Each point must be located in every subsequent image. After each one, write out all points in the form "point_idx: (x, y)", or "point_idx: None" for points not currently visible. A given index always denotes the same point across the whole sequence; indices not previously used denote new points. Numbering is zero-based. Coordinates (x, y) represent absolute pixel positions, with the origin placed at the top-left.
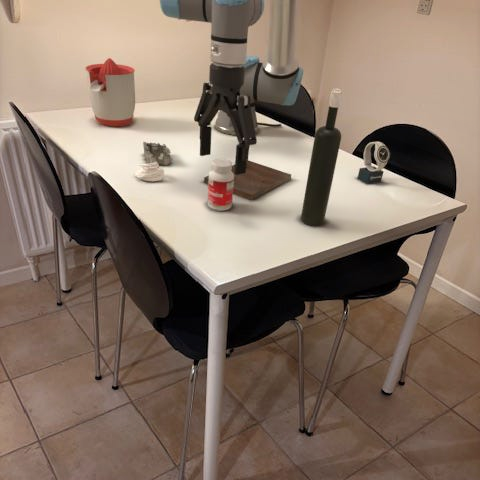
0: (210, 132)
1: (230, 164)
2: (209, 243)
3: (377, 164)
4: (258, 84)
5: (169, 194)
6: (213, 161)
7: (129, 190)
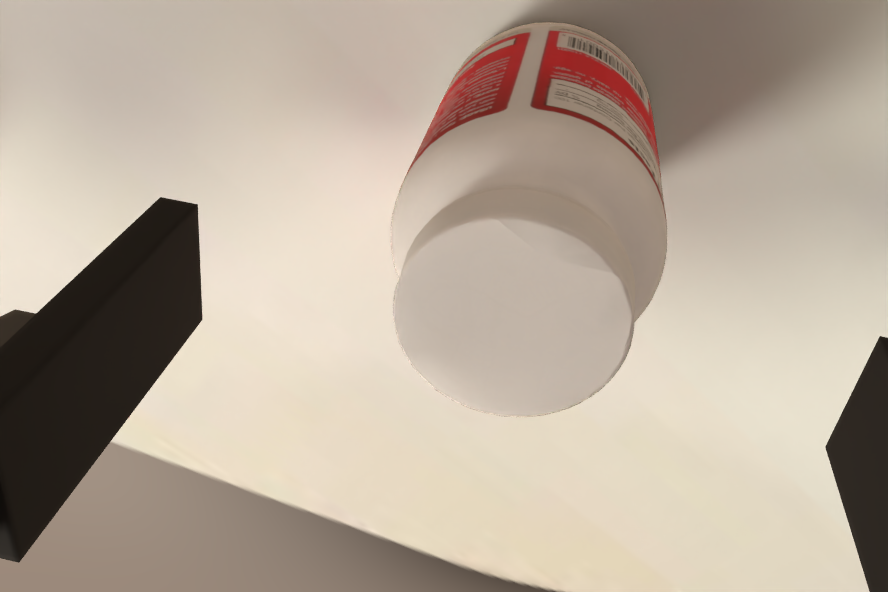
0: (41, 382)
1: (615, 293)
2: None
3: None
4: None
5: None
6: (421, 366)
7: None
